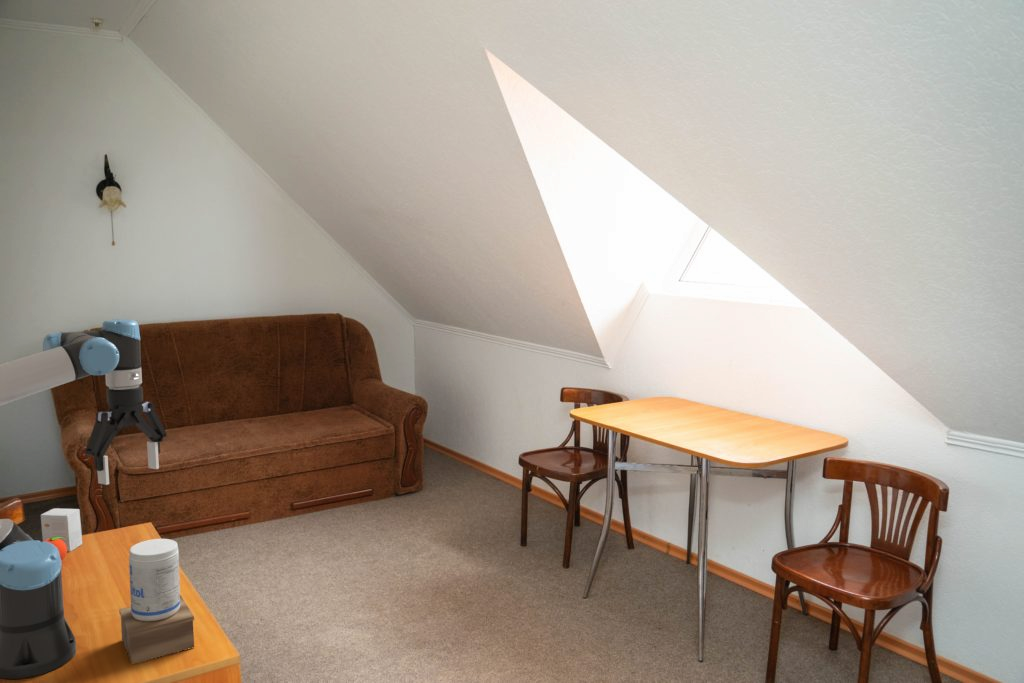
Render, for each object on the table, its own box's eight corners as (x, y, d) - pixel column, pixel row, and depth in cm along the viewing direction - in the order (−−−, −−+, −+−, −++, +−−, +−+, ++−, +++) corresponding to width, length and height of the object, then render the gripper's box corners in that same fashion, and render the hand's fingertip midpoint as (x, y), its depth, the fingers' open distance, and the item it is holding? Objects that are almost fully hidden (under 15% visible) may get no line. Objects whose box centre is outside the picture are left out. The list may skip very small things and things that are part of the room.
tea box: (195, 647, 168) (193, 616, 167) (131, 665, 160) (129, 632, 160) (181, 624, 178) (180, 594, 177) (121, 640, 171) (119, 609, 170)
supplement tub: (121, 616, 166) (117, 549, 165) (160, 598, 175) (157, 534, 173) (152, 627, 162) (149, 558, 160) (191, 608, 170) (187, 542, 168)
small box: (82, 544, 224) (80, 508, 222) (70, 552, 218) (67, 515, 217) (56, 543, 224) (53, 507, 223) (42, 551, 219) (40, 514, 218)
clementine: (62, 555, 216) (61, 530, 215) (77, 560, 212) (75, 535, 211) (32, 565, 209) (30, 539, 208) (46, 571, 206) (45, 545, 205)
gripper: (86, 397, 170) (92, 493, 173) (179, 379, 192) (183, 464, 195) (63, 394, 173) (69, 488, 176) (157, 376, 196) (161, 460, 198)
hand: (129, 475), depth 185 cm, fingers open, 13 cm apart
